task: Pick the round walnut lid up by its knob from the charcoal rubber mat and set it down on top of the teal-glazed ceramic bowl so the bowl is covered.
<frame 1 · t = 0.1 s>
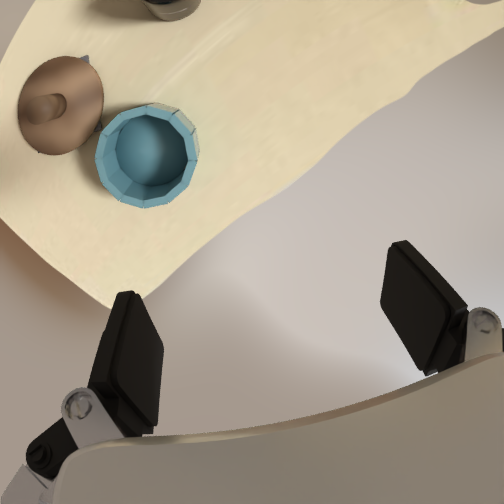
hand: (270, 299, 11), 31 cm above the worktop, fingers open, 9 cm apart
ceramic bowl: (153, 148, 36), on the worktop
walnut lid: (59, 105, 30), resting on rubber mat
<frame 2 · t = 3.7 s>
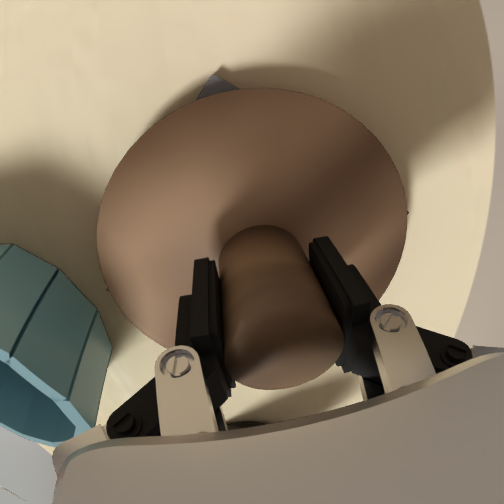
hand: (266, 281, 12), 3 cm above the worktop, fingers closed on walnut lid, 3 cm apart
rubber mat: (256, 245, 14), on the worktop
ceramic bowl: (28, 324, 15), on the worktop
walnut lid: (258, 251, 13), resting on rubber mat, touching gripper
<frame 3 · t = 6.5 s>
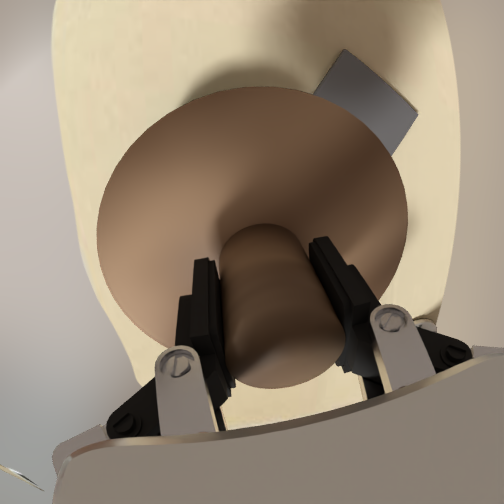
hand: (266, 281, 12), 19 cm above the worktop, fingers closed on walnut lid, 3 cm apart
rubber mat: (357, 121, 27), on the worktop
walnut lid: (258, 250, 13), point 17 cm above the worktop, touching gripper
when the fingers open (10 cm above the worktop, at t = 9.2 s): walnut lid drops 1 cm, resting on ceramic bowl.
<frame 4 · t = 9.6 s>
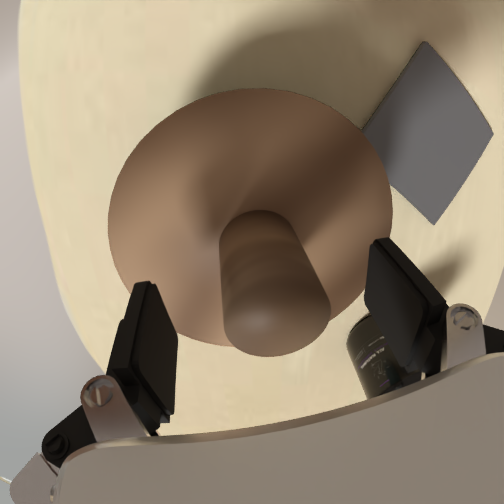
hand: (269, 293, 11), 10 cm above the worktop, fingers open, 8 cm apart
rubber mat: (433, 137, 19), on the worktop
walnut lid: (255, 235, 15), point 6 cm above the worktop, touching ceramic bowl
supplement bottle: (372, 331, 30), on the worktop
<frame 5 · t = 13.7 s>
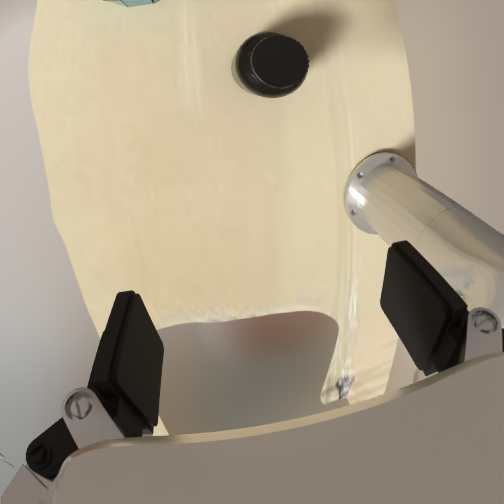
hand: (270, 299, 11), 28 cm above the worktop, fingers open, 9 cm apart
supplement bottle: (259, 68, 30), on the worktop
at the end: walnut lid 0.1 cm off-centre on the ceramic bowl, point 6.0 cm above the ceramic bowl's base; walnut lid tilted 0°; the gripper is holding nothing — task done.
